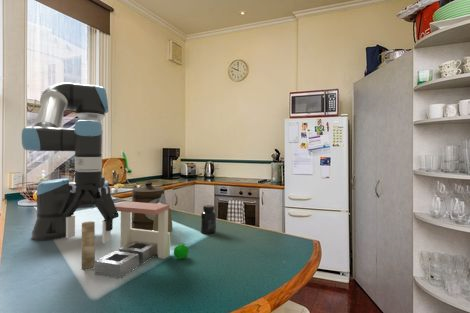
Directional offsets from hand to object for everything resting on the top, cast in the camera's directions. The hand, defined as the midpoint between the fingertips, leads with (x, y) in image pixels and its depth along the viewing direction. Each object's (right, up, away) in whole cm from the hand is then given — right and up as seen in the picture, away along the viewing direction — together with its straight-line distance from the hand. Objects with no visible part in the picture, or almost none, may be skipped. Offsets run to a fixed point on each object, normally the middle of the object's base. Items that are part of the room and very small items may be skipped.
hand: (88, 239), depth 90 cm
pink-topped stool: (+13, -9, +10) cm, 18 cm away
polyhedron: (+27, -10, +9) cm, 30 cm away
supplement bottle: (+34, -9, +40) cm, 53 cm away
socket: (+10, -9, -1) cm, 13 cm away
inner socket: (+13, -9, +9) cm, 18 cm away
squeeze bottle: (+15, -9, +33) cm, 37 cm away
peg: (0, -9, +1) cm, 9 cm away
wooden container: (+5, -8, +47) cm, 48 cm away
